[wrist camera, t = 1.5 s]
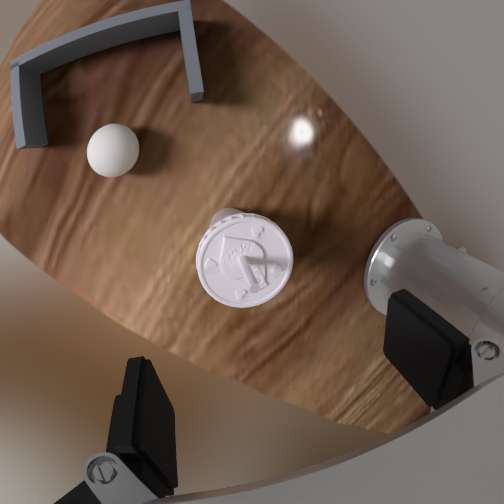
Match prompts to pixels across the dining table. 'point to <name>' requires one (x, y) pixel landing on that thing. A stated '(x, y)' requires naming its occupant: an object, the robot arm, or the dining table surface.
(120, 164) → the ball
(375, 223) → the dining table surface
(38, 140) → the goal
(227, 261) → the smoothie
